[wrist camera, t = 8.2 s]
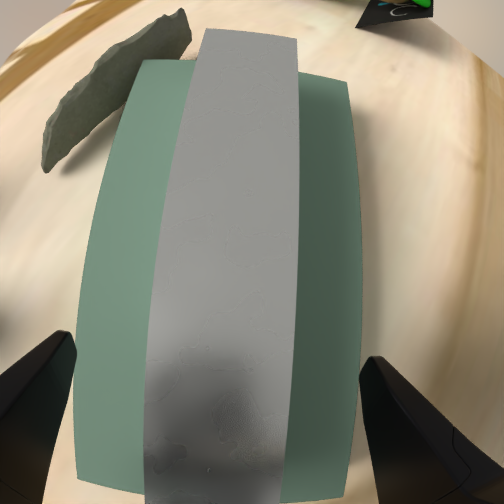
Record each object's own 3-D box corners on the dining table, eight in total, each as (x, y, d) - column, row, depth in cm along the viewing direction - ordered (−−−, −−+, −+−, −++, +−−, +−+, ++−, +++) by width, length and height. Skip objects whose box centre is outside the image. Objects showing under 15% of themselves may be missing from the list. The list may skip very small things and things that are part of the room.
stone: (175, 50, 20) (171, -3, 15) (195, 60, 19) (194, 5, 15) (40, 169, 16) (3, 125, 11) (56, 185, 16) (17, 142, 11)
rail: (259, 469, 11) (277, 515, 7) (162, 462, 11) (145, 507, 7) (280, 93, 16) (296, 39, 12) (205, 85, 15) (206, 28, 11)
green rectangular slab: (323, 474, 14) (342, 497, 11) (97, 458, 13) (77, 479, 10) (331, 111, 19) (346, 82, 16) (149, 91, 18) (143, 59, 15)
